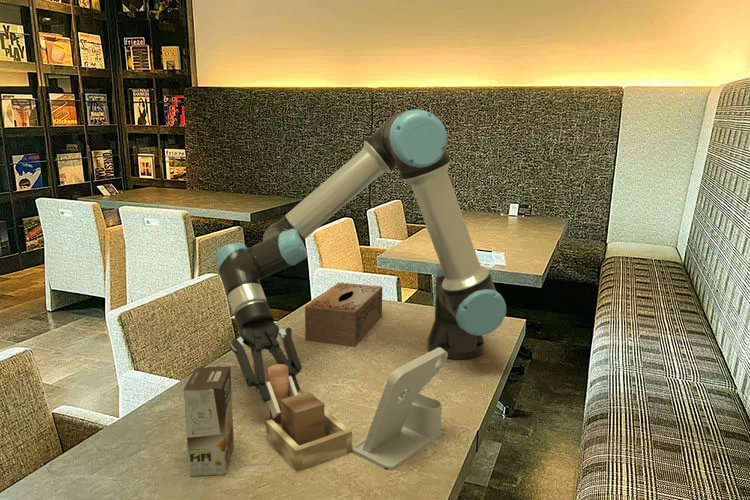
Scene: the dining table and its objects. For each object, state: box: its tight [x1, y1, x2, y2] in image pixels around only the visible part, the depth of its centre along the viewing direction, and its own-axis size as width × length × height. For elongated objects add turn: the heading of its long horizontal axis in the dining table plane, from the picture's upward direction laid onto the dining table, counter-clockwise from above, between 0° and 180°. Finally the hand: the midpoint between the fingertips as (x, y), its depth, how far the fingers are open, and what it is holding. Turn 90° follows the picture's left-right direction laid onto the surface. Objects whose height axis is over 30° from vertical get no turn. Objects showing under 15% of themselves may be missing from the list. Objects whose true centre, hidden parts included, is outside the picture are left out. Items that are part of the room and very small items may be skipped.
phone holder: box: [351, 347, 448, 471], centre depth 107 cm, size 17×10×18 cm, turn 139°
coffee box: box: [183, 366, 235, 477], centre depth 100 cm, size 9×6×16 cm
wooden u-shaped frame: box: [265, 408, 353, 473], centre depth 107 cm, size 12×11×4 cm
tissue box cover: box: [304, 282, 383, 348], centre depth 167 cm, size 26×14×10 cm, turn 163°
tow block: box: [267, 363, 326, 446], centre depth 111 cm, size 15×6×11 cm, turn 35°
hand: (287, 411), depth 113 cm, fingers closed on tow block, 4 cm apart
